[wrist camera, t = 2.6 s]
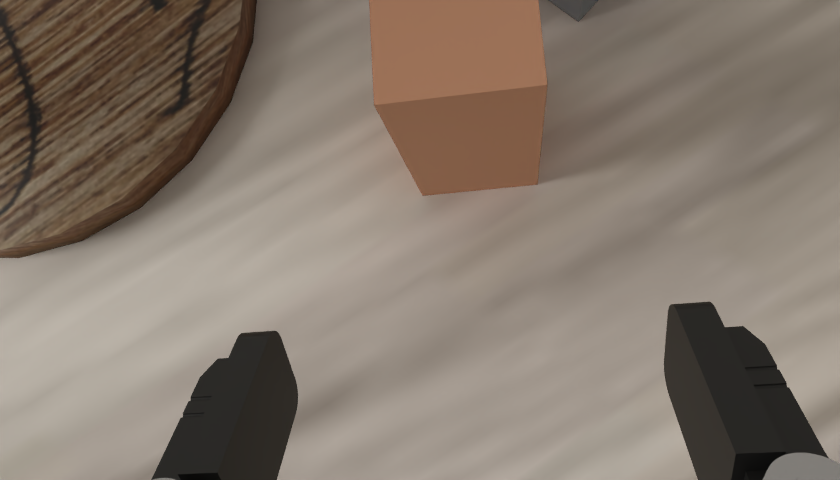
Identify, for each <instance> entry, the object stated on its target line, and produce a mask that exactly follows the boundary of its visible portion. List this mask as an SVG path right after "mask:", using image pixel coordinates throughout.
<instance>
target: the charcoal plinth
mask: <svg viewBox="0 0 840 480" xmlns="http://www.w3.org/2000/svg"><path fill="white" fill-rule="evenodd" d="M549 1H550V2H552V3H553V4H555V5H556V6H557V7H559V8H560V9H562V10H563V11H564V12H566V13H567V14H569V15H570V16H571V17H573V18H574V19H576V20H577V21H578V22H579V21H580V20H581V18H582V17H583V16H584V15H585V14H586V13H587V12H588V11H589V10H590V9H591V7H592V6H593V5H594V4H595V3H596V2H597V1H598V0H549Z"/></svg>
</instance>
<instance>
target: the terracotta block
mask: <svg viewBox="0 0 840 480" xmlns="http://www.w3.org/2000/svg"><path fill="white" fill-rule="evenodd" d="M369 6H370V27H371V48H372V70H373V91H374V106H375V108H376V109H377V111H378V113H379V115H380V117H381V119H382V121H383V122H384V124H385V126H386V128H387V130H388V132H389V134H390V136H391V137H392V139H393V141H394V143H395V145H396V147H397V149H398V150H399V152H400V154H401V156H402V158H403V160H404V162H405V163H406V165H407V167H408V169H409V171H410V173H411V175H412V177H413V178H414V180H415V182H416V184H417V186H418V188H419V190H420V191H421V193H422V195H423V196H424V195H435V194H445V193H455V192H465V191H476V190H486V189H496V188H506V187H517V186H527V185H537V182H538V173H539V163H540V153H541V143H542V133H543V123H544V113H545V103H546V93H547V77H546V67H545V58H544V49H543V39H542V30H541V21H540V11H539V2H538V0H369Z"/></svg>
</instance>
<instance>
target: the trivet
mask: <svg viewBox="0 0 840 480" xmlns="http://www.w3.org/2000/svg"><path fill="white" fill-rule="evenodd" d="M256 3H257V0H0V258H20V257H24V256H28V255H31V254H35V253H39V252H43V251H46V250H50V249H54V248H57V247H61V246H65V245H69V244H72V243H76V242H80V241H82V240H84V239H86V238H88V237H90V236H91V235H93V234H95V233H97V232H98V231H100V230H102V229H104V228H105V227H107V226H109V225H111V224H113V223H114V222H116V221H118V220H120V219H121V218H123V217H125V216H127V215H129V214H130V213H132V212H134V211H136V210H137V209H139V208H141V207H142V206H143V205H144V204H145V203H146V202H147V201H149V200H150V199H151V198H152V197H153V196H154V195H155V194H156V193H157V192H158V191H159V190H160V189H161V188H162V187H164V186H165V185H166V184H167V183H168V182H169V181H170V180H171V179H172V178H173V177H174V176H175V175H176V174H178V173H179V172H180V171H181V170H182V169H183V168H184V167H185V166H186V165H187V164H188V163H189V162H190V161H192V159H193V158H194V156H195V155H196V153H197V152H198V150H199V149H200V147H201V146H202V144H203V143H204V141H205V140H206V138H207V137H208V135H209V134H210V133H211V131H212V130H213V128H214V127H215V125H216V124H217V122H218V121H219V119H220V118H221V116H222V115H223V113H224V112H225V110H226V109H227V107H228V106H229V104H230V102H231V100H232V97H233V94H234V91H235V89H236V86H237V83H238V81H239V78H240V75H241V72H242V70H243V67H244V64H245V62H246V59H247V56H248V53H249V51H250V48H251V45H252V42H253V34H254V24H255V13H256Z"/></svg>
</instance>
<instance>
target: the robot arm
mask: <svg viewBox="0 0 840 480" xmlns="http://www.w3.org/2000/svg"><path fill="white" fill-rule="evenodd" d="M664 372H665V380H666V385H667V390H668V393H669V396H670V399H671V402H672V405H673V408H674V411H675V414H676V417H677V420H678V422H679V425H680V428H681V431H682V434H683V437H684V440H685V443H686V446H687V449H688V452H689V455H690V458H691V460H692V463H693V466H694V469H695V472H696V475H697V478H698V480H840V464H839V463H838V462H835V461H833V460H831V459H829V458H828V456H827V455H826V453H825V452H824V450H823V448H822V446H821V444H820V443H819V441H818V439H817V437H816V435H815V434H814V432H813V430H812V428H811V426H810V425H809V423H808V421H807V419H806V417H805V416H804V414H803V412H802V410H801V408H800V407H799V405H798V403H797V401H796V399H795V398H794V396H793V394H792V392H791V390H790V388H787V385H786V381H785V379H784V378H783V376H782V374H781V372H780V370H777V365H776V363H775V361H774V360H773V358H772V356H771V354H770V352H769V351H768V349H767V347H766V345H765V344H764V343H763V342H762V341H761V340H759V339H758V338H757V337H756V336H754V335H753V334H752V333H751V332H750V331H748V330H747V329H746V328H745V327H743V326H739V327H724V325H723V323H722V321H721V319H720V317H719V315H718V313H717V311H716V309H715V307H714V305H713V304H712V303H711V302H699V303H684V304H671V305H670V306H669V310H668V319H667V331H666V343H665V356H664ZM297 404H298V390H297V384H296V380H295V377H294V374H293V371H292V368H291V365H290V362H289V360H288V357H287V354H286V351H285V348H284V345H283V342H282V339H281V337H280V335H279V333H278V332H277V331H265V332H251V333H241V334H240V335H239V336H238V338H237V340H236V342H235V344H234V347H233V349H232V351H231V353H230V356H229V358H223V359H217V360H216V361H215V362H214V363H213V364H212V365H211V366H210V367H209V368H208V370H207V371H206V372H205V373H204V374H203V375H202V376H201V377H200V379H199V381H198V383H197V385H196V387H195V389H194V391H193V393H192V395H191V401H189V402H188V404H187V406H186V408H185V410H184V412H183V418H181V419H180V421H179V423H178V425H177V427H176V429H175V431H174V433H173V435H172V438H171V440H170V442H169V444H168V446H167V448H166V450H165V452H164V454H163V457H162V459H161V461H160V463H159V465H158V467H157V469H156V471H155V473H154V476H153V478H152V479H151V480H277V477H278V473H279V470H280V466H281V463H282V459H283V456H284V452H285V449H286V445H287V442H288V438H289V435H290V431H291V428H292V425H293V421H294V418H295V414H296V410H297Z"/></svg>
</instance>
